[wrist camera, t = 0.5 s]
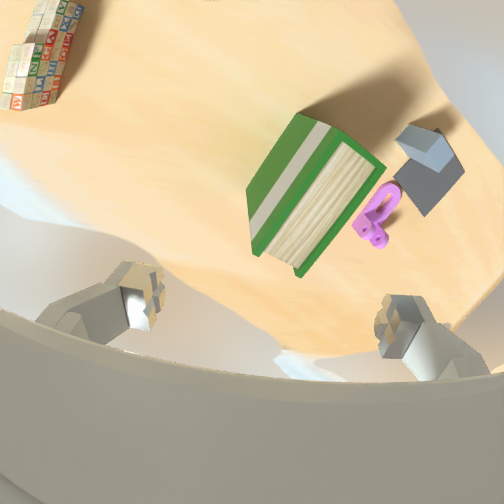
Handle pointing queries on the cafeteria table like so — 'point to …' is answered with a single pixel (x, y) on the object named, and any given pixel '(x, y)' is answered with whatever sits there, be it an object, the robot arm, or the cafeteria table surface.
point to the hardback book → (307, 191)
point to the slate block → (424, 146)
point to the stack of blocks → (40, 56)
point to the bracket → (377, 215)
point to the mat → (428, 181)
